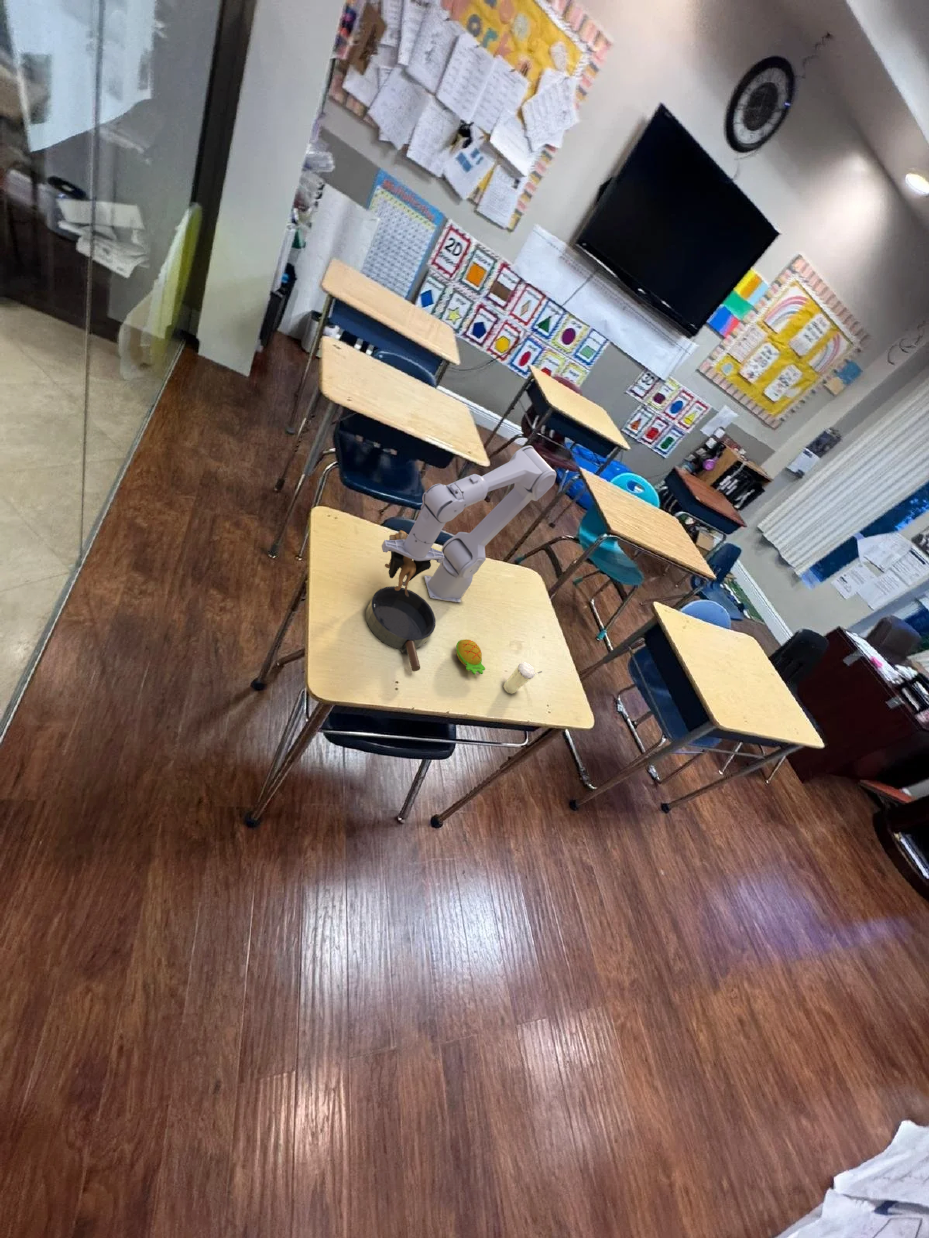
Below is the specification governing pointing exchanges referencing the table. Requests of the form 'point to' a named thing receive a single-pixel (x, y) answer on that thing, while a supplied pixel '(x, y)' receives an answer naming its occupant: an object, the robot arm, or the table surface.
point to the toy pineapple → (470, 655)
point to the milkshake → (519, 677)
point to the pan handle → (411, 655)
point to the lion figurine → (407, 567)
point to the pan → (400, 617)
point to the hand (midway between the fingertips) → (399, 576)
